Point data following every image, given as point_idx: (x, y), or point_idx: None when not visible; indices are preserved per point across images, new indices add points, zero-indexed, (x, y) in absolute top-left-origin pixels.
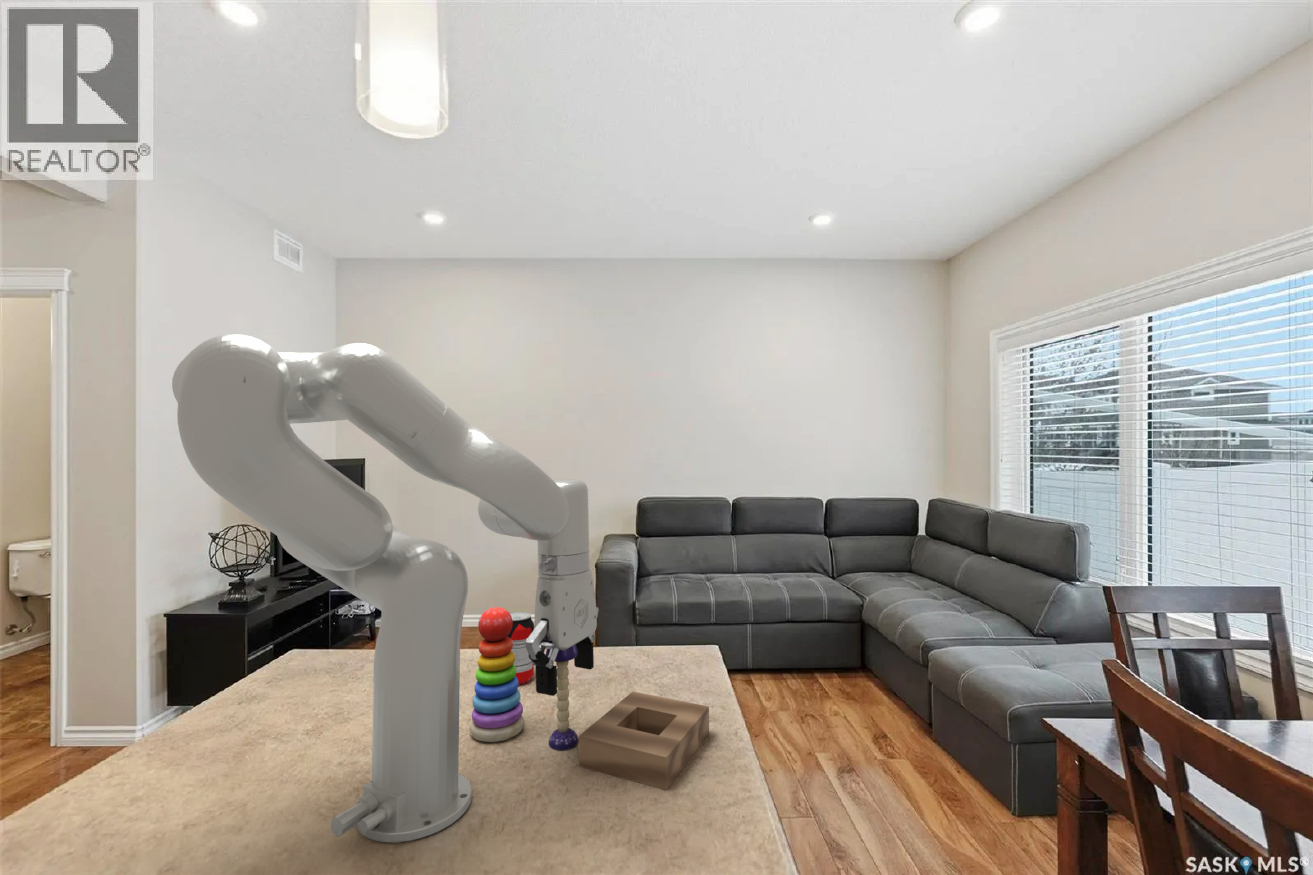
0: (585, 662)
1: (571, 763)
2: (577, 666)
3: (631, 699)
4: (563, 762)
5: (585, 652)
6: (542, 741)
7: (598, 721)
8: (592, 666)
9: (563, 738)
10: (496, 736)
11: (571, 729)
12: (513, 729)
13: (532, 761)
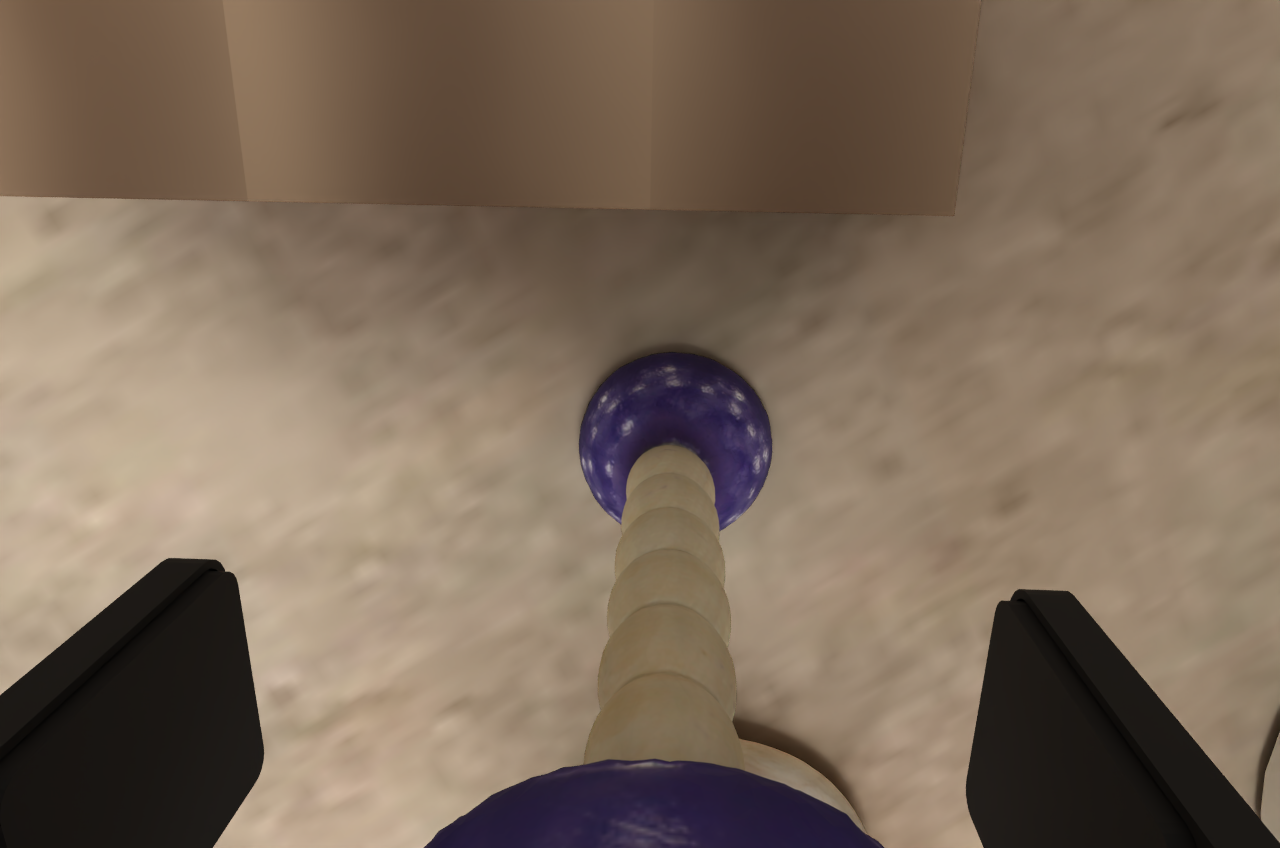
0: (202, 676)
1: (882, 263)
2: (255, 735)
3: (121, 121)
4: (888, 318)
5: (115, 771)
6: None
7: (650, 188)
8: (190, 565)
9: (737, 429)
10: (847, 810)
11: (625, 435)
12: (760, 767)
13: (942, 499)
